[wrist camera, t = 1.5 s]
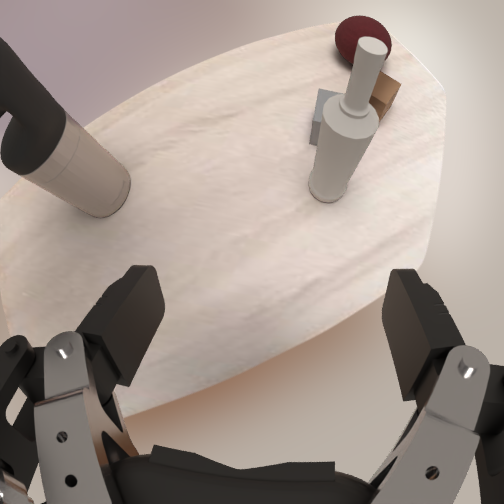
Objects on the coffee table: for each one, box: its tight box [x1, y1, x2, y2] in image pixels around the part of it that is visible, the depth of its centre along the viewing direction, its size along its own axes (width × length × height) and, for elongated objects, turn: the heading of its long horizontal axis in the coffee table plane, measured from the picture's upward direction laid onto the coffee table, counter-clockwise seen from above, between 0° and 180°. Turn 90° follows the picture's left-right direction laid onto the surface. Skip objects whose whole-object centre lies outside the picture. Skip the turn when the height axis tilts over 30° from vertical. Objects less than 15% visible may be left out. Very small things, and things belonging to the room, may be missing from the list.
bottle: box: [309, 37, 388, 203], centre depth 27 cm, size 5×5×25 cm
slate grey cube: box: [309, 89, 342, 145], centre depth 38 cm, size 6×6×6 cm
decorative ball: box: [335, 16, 392, 64], centre depth 38 cm, size 10×10×10 cm
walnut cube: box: [369, 71, 401, 122], centre depth 38 cm, size 6×6×6 cm
